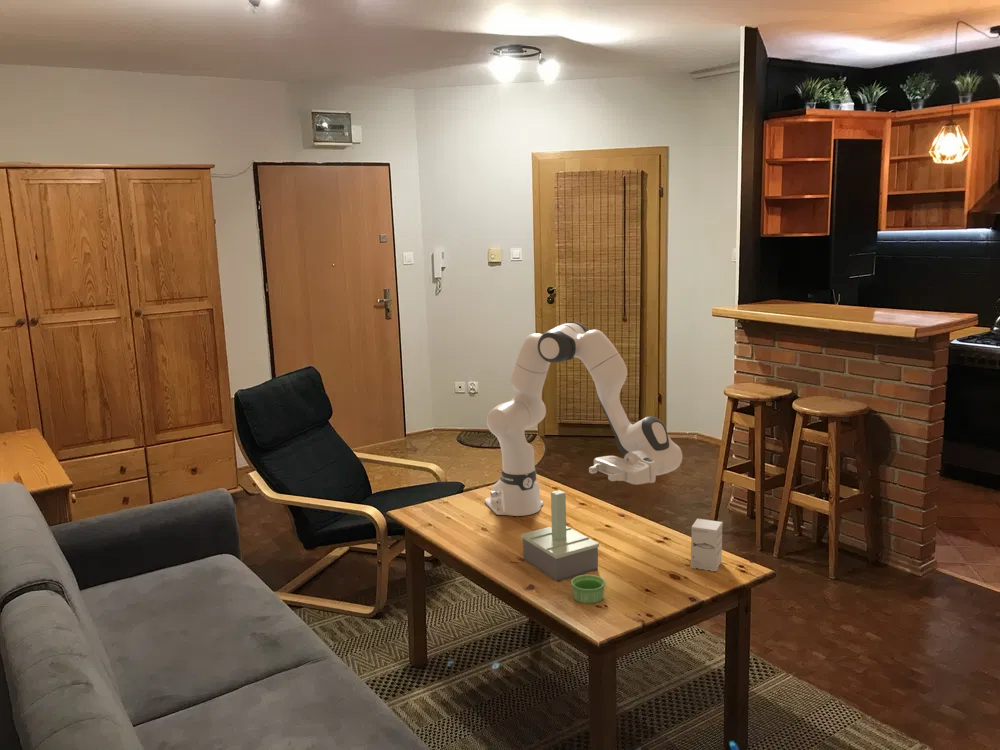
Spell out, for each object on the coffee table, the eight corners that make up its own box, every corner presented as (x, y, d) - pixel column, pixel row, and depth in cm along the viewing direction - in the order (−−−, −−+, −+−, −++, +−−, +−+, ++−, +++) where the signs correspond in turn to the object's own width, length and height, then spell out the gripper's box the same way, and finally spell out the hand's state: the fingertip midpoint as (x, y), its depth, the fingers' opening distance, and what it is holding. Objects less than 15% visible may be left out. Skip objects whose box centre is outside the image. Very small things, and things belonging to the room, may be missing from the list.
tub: (523, 559, 235) (522, 537, 234) (562, 548, 242) (562, 527, 240) (556, 582, 220) (556, 558, 218) (598, 569, 226) (597, 546, 225)
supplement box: (690, 568, 225) (690, 526, 222) (696, 558, 231) (696, 517, 229) (716, 573, 221) (717, 530, 219) (722, 562, 228) (723, 521, 225)
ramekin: (592, 586, 216) (592, 571, 215) (612, 599, 208) (612, 584, 208) (564, 594, 212) (564, 579, 211) (583, 608, 204) (583, 592, 203)
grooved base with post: (521, 537, 234) (519, 488, 231) (562, 526, 241) (561, 479, 238) (556, 558, 218) (554, 506, 215) (599, 546, 225) (598, 496, 222)
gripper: (615, 448, 249) (578, 456, 242) (658, 462, 231) (620, 471, 225) (615, 467, 250) (579, 476, 243) (658, 483, 233) (621, 493, 226)
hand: (599, 474), depth 234 cm, fingers open, 8 cm apart
